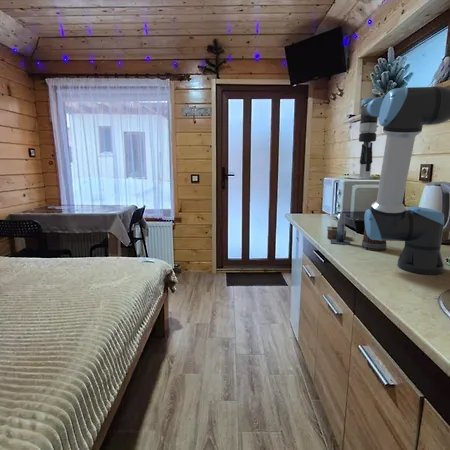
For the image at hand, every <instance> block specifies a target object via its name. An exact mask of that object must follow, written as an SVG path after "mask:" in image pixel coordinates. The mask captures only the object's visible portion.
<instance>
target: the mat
mask: <svg viewBox="0 0 450 450" xmlns="http://www.w3.org/2000/svg"><path fill="white" fill-rule="evenodd" d="M330 244H331V245H346V246H351V243H350V240H349V239H346V240H344V242H337V241H336V239H330Z"/></svg>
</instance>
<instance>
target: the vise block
mask: <svg viewBox="0 0 450 450" xmlns="http://www.w3.org/2000/svg"><path fill="white" fill-rule="evenodd" d="M326 228H327V230H326V231H327V234H326V235H327V236H326V237H327V240H331V239H336V238H337V226H327V227H326ZM344 240H347V228H346V227H345V232H344Z"/></svg>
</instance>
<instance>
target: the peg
mask: <svg viewBox="0 0 450 450" xmlns="http://www.w3.org/2000/svg"><path fill="white" fill-rule="evenodd" d="M346 215H347V214H346V213H338V214H337V226H336V227H337V238H336V241H337V242H344V232H345V228H346Z"/></svg>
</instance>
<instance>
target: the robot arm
mask: <svg viewBox="0 0 450 450" xmlns="http://www.w3.org/2000/svg"><path fill="white" fill-rule="evenodd" d="M448 121H450V87H447V86H442V85H441V86H416V87H415V86H413V87H407V86H405V87H400V88H399V87H398V88H393V89H392V88H391V89H390V90H389V91H388V92H387V93H386V94H385V96H384V97H382V96H381V97H379V96H377V97H366V98H364V99H362V101H361V106H360V121H359V122H360V123H359V134H358V142H359V143H362V144H361V150H360V151H361V152H360V158H359V176H358V177H359V178H363V179H364V180H365V179H366V180H367V179H371V173H372V171H371V170H372V163H373V142H376V141H377V131H378V130H377V128H378V127H379V125H380V126H381V127H382V128H383V129H382V132H383V133H384V134H385V135H386V139H385V146H384V152H383V158H382V165H381V172H380V177H379V182H378V183H379V184H378V189H377V194H376V195H377V197H376V200H375V201H374V202H372V204H371V206H370V209H366V210H365V212H364V215H363V217H364V219H363V220H364V230H365V229H366V233H367V236H368V237H369V238H370V239H372V240H380V241H382V240H383V241H386V242H387V241H388V242H389V241H390V242H391V241H392V242H404V247H403V249H402V251H401V253H400V254H399V257H398V258H397V264H396V265H397V267H398V268H399V269H402V270H404V271H406V272H410V273H415V274H421V275H430V276H431V275H432V276H433V275H440V274H443V272H444V268H445V265H444V260H443V257H442V253H441V246H442V239H443V232H444V226H445V214H444V213H443V212H442V211H440V210H437V209H432V208H428V207H423V206H422V207H421V206H410V205H409V207H408V208H407V207H406V206H405V204H403V203H404V202H403V201H404V197H405V196H404V195H405V191H406V187H407V181H408V177H409V176H408V175H409V170H410V166H411V160H412V156H413V150H414V144H415V139H416V137H417V136H418V135H419V134H421V133H422V130H423V127H424V126H431V125H433V126H434V125H439V124H444V123H445V122H448ZM378 124H379V125H378Z"/></svg>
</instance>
